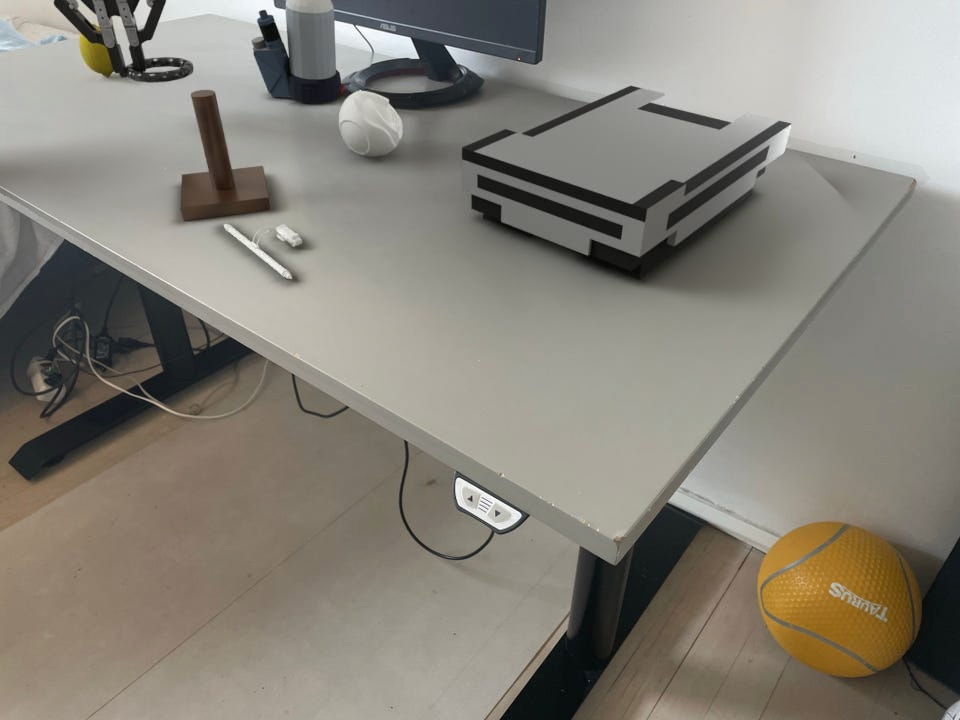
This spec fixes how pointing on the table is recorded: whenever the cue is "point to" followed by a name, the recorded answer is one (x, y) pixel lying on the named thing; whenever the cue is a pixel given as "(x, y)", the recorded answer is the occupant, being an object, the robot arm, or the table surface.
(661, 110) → the game console
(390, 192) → the table surface
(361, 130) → the white ridged ball
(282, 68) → the vaping device
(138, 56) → the robot arm
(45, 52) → the table surface
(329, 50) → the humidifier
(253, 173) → the stand
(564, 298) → the table surface
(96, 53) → the lemon
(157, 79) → the ring
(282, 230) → the picture light
